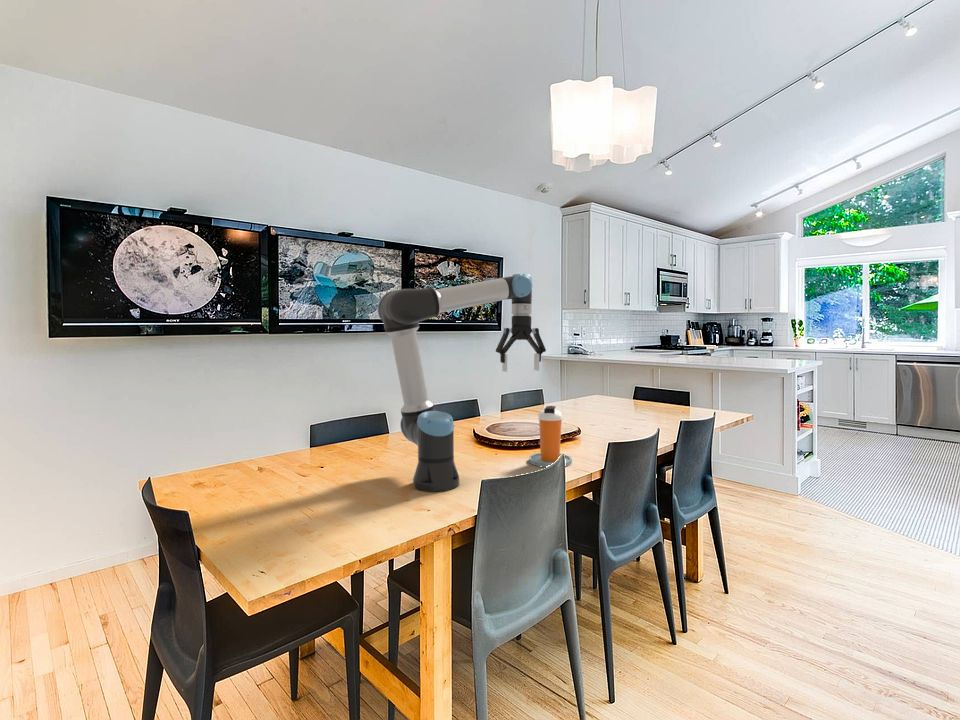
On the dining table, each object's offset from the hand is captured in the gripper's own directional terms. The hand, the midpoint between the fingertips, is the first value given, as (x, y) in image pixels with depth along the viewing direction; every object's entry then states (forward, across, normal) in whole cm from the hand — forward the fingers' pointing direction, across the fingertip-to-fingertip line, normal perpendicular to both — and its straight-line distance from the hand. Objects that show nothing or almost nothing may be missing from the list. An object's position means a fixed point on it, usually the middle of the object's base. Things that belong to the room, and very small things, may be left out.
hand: (520, 371), depth 195 cm
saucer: (+34, +9, -8) cm, 36 cm away
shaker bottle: (+34, +9, -8) cm, 36 cm away
